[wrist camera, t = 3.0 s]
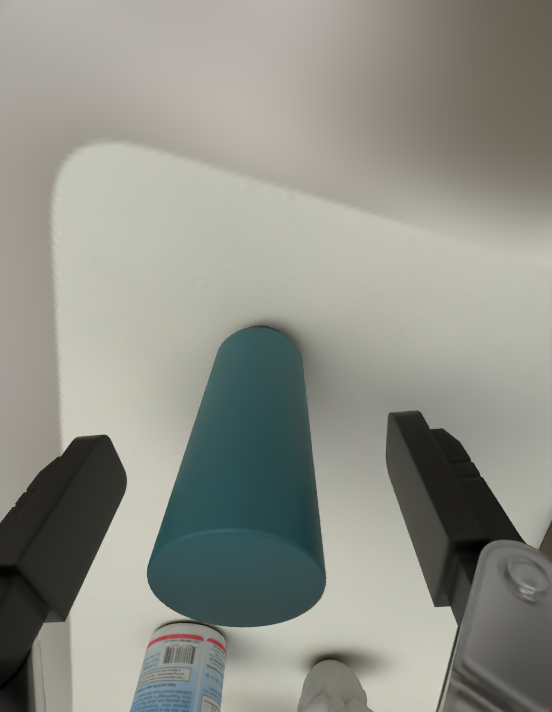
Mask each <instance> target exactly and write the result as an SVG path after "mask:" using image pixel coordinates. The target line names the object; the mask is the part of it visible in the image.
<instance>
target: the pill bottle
mask: <svg viewBox="0 0 552 712" xmlns="http://www.w3.org/2000/svg"><path fill="white" fill-rule="evenodd" d="M225 658H226V642H225V639H224V637H223V636H222V635H221V634H220V633H219V632H217V631H216V630H214V629H212V628H209V627H206V626H203V625H199V624H191V623H176V624H170V625H166V626H164V627H162V628H160V629H159V630H157V631H156V632H155V633H154V634H153V635H152V637H151V639H150V641H149V644H148V647H147V650H146V654H145V658H144V661H143V665H142V669H141V673H140V676H139V680H138V684H137V688H136V691H135V695H134V699H133V703H132V706H131V710H130V712H220V707H221V697H222V687H223V677H224V668H225Z"/></svg>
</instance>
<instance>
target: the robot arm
mask: <svg viewBox="0 0 552 712" xmlns="http://www.w3.org/2000/svg"><path fill="white" fill-rule="evenodd" d="M386 464H387V470H388V474H389V477H390V480H391V483H392V486H393V489H394V492H395V495H396V497H397V500H398V503H399V506H400V509H401V512H402V515H403V518H404V520H405V523H406V526H407V529H408V532H409V535H410V538H411V541H412V543H413V546H414V549H415V552H416V555H417V558H418V561H419V564H420V566H421V569H422V572H423V575H424V578H425V581H426V584H427V587H428V589H429V592H430V595H431V598H432V601H433V604H434V607H445V606H451V609H452V612H453V614H454V617H455V619H456V622H457V625H458V627H457V631H456V635H455V638H454V642H453V646H452V650H451V654H450V658H449V662H448V666H447V670H446V674H445V677H444V681H443V685H442V689H441V693H440V697H439V701H438V705H437V709H436V712H552V559H551V558H549V557H548V556H547V555H546V554H544V553H542V552H541V551H539V550H538V549H536V548H534V547H532V546H530V545H527V544H526V543H525V541H524V540H523V539H522V538H521V536H520V535H519V533H518V532H517V530H516V529H515V527H514V526H513V524H512V522H511V521H510V519H509V518H508V516H507V515H506V513H505V511H504V510H503V508H502V507H501V505H500V504H499V502H498V501H497V499H496V497H495V496H494V494H493V493H492V491H491V490H490V488H489V487H488V485H487V483H486V482H485V480H484V479H483V477H481V476H480V473H479V471H478V469H477V468H476V466H475V465H474V463H473V462H471V459H470V457H469V455H468V454H467V452H466V451H465V449H464V448H463V446H462V445H461V443H460V442H459V441H458V440H457V439H455V438H454V437H453V436H452V435H450V434H449V433H448V432H446V431H445V430H444V429H443V428H441V429H430V428H429V426H428V424H427V422H426V421H425V419H424V417H423V415H422V414H421V412H420V411H405V412H392V413H389V416H388V426H387V442H386ZM126 485H127V476H126V472H125V469H124V467H123V465H122V463H121V461H120V459H119V456H118V454H117V452H116V450H115V448H114V446H113V443H112V441H111V439H110V438H109V437H108V436H107V435H93V436H81V437H77V438H75V439H74V440H73V441H72V442H71V444H70V445H69V446H68V448H67V449H66V450H65V452H64V453H63V454H62V456H61V457H57V458H56V459H55V460H54V461H53V462H51V463H50V464H49V465H48V466H46V467H45V468H44V469H43V470H42V471H40V472H39V474H38V475H37V476H36V477H35V479H34V480H33V481H32V483H31V484H30V485H29V487H28V488H27V492H25V493H23V494H22V496H21V497H20V498H19V499H18V501H17V502H16V506H15V507H12V509H11V510H10V511H9V512H8V514H7V515H6V516H5V518H4V519H3V520H2V521H1V523H0V712H46V701H45V689H44V679H43V678H44V677H43V665H42V654H41V644H40V641H39V639H38V637H37V635H38V633H39V631H40V629H41V627H42V625H43V623H47V622H65V620H66V618H67V616H68V614H69V612H70V610H71V607H72V605H73V603H74V601H75V599H76V597H77V595H78V592H79V590H80V588H81V586H82V584H83V582H84V580H85V577H86V575H87V573H88V571H89V569H90V567H91V565H92V562H93V560H94V558H95V556H96V554H97V552H98V550H99V547H100V545H101V543H102V541H103V539H104V537H105V535H106V532H107V530H108V528H109V526H110V524H111V522H112V520H113V517H114V515H115V513H116V511H117V509H118V507H119V505H120V502H121V500H122V498H123V496H124V494H125V490H126Z"/></svg>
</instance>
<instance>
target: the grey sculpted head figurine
mask: <svg viewBox="0 0 552 712" xmlns="http://www.w3.org/2000/svg"><path fill="white" fill-rule="evenodd" d="M297 712H373V711H372V710H371V709H369V708H368V707H367V697H366V693H365V690H363V688H362V686H361V684H360V681H359V680H358V678H357V676H356V675H355V673H354V672H353V671H352V670H351V669H350V668H349V667H348V666H346V665H345V664H343V663H342V662H339V661H336V660H324V661H321V662H319V663H317V664H316V665H315V666H314V667H313V668H312V669H311V670H310V671H309V673H308V674H307V676H306V679H305V681H304V684H303V689H302V695H301V698H300V700H299V704H298V708H297Z"/></svg>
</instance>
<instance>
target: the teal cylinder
mask: <svg viewBox="0 0 552 712" xmlns="http://www.w3.org/2000/svg"><path fill="white" fill-rule="evenodd" d="M147 578H148V583H149V586H150V588H151V590H152V591H153V593H154V594H155V596H156V597H157V598H158V599H159V600H160V601H161V602H162V603H164V604H165V605H166V606H167V607H169V608H171V609H172V610H174V611H176V612H178V613H179V614H181V615H184V616H186V617H189V618H191V619H194V620H197V621H201V622H205V623H209V624H214V625H219V626H228V627H259V626H266V625H272V624H277V623H281V622H284V621H288V620H290V619H293V618H295V617H298V616H299V615H301V614H303V613H305V612H306V611H308V610H309V609H311V608H312V607H313V606H314V605H315V604H316V603H317V602H318V601H319V600H320V598H321V596H322V595H323V592H324V589H325V586H326V571H325V562H324V553H323V544H322V535H321V526H320V517H319V507H318V498H317V489H316V480H315V471H314V462H313V453H312V444H311V434H310V425H309V416H308V407H307V398H306V389H305V380H304V370H303V362H302V357H301V354H300V352H299V350H298V348H297V347H296V345H295V344H294V343H293V342H292V341H291V340H290V339H289V338H288V337H287V336H285V335H283V334H282V333H280V332H279V331H277V330H275V329H273V328H270V327H266V326H253V327H249V328H246V329H244V330H241V331H238V332H236V333H234V334H233V335H231V336H230V337H228V338H227V339H226V340H225V341H224V342H223V343H222V345H221V346H220V348H219V350H218V352H217V355H216V358H215V361H214V365H213V368H212V371H211V374H210V377H209V380H208V383H207V386H206V389H205V392H204V395H203V398H202V401H201V404H200V407H199V411H198V414H197V417H196V420H195V423H194V426H193V429H192V432H191V435H190V438H189V441H188V444H187V447H186V450H185V453H184V456H183V460H182V463H181V466H180V469H179V472H178V475H177V478H176V481H175V484H174V487H173V490H172V493H171V496H170V499H169V502H168V506H167V509H166V512H165V515H164V518H163V521H162V524H161V527H160V530H159V533H158V536H157V539H156V542H155V545H154V548H153V551H152V555H151V558H150V561H149V564H148V567H147Z"/></svg>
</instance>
